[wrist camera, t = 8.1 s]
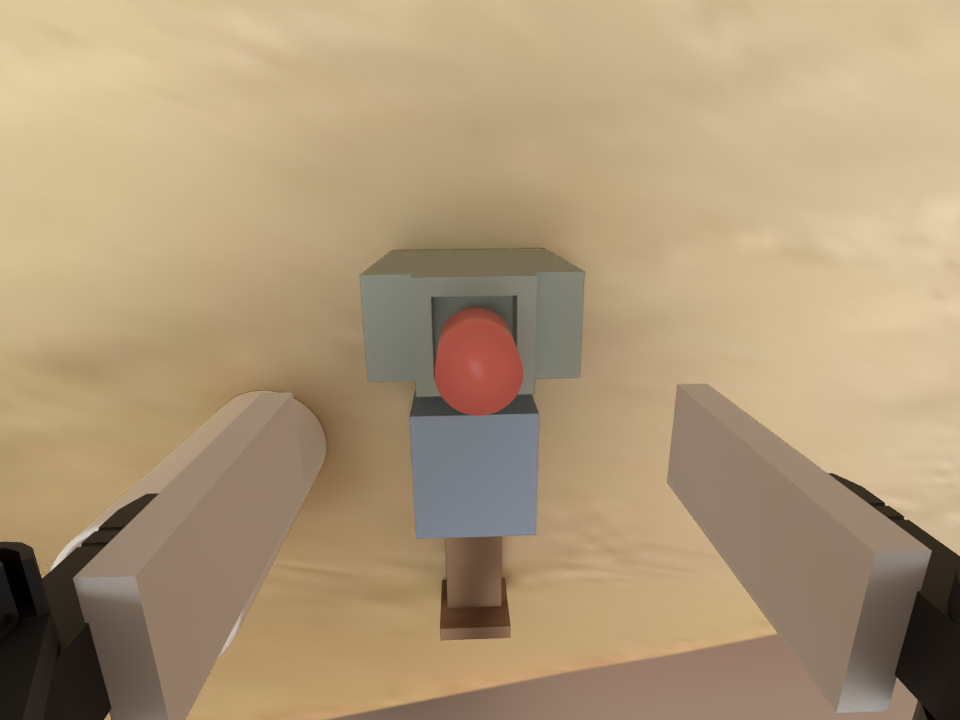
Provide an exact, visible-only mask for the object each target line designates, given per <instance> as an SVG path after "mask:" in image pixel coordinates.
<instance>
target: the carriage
mask: <svg viewBox="0 0 960 720" xmlns="http://www.w3.org/2000/svg"><path fill="white" fill-rule="evenodd" d="M538 430H539V413H538V410H537V407H536V405H535V402H534V399H533V397H532V394H521V395H517V396H516V397H515V398H514V400H513V401H512V402H511V403H510V404H509V405H507V406H506V407H505V408H503V409H502V410H500V411H498V412H495V413H492V414H489V415H482V416H475V415H468V414H465V413H462V412H459V411H457V410H456V409H454V408H452V407H451V406H450V405H448V404H447V403H446V401H445V400H444V399H443V398H442V397H441V396H434V397H416V391H415V395H414V399H413V404H412V408H411V413H410V434H411V453H412V472H413V491H414V511H415V530H416V539H429V538H460V537H491V536H522V535H536V514H537V472H538Z"/></svg>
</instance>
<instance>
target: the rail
mask: <svg viewBox="0 0 960 720" xmlns="http://www.w3.org/2000/svg"><path fill="white" fill-rule="evenodd" d="M445 541H446V571H447V581H442V597H441V620H440V638H441V640H464V639H489V638H510V619H509V610H508V602H507V594H506V586H505V579H501V536H491V537H460V538H445Z"/></svg>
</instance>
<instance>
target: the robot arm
mask: <svg viewBox="0 0 960 720" xmlns="http://www.w3.org/2000/svg"><path fill="white" fill-rule="evenodd" d="M667 483H668V485H669V486H670V487H671V489H672V490H673V491H674V493H675V494H676V495H677V497H678V498H679V500H680V501H681V502H682V504H683V505H684V506H685V508H686V509H687V510H688V512H689V513H690V515H691V516H692V517H693V519H694V520H695V521H696V523H697V524H698V525H699V527H700V528H701V530H702V531H703V532H704V534H705V535H706V536H707V538H708V539H709V540H710V542H711V543H712V544H713V546H714V547H715V549H716V550H717V551H718V553H719V554H720V555H721V557H722V558H723V559H724V561H725V562H726V564H727V565H728V566H729V568H730V569H731V570H732V572H733V573H734V574H735V576H736V577H737V578H738V580H739V581H740V583H741V584H742V585H743V587H744V588H745V589H746V591H747V592H748V593H749V595H750V596H751V598H752V599H753V600H754V602H755V603H756V604H757V606H758V607H759V608H760V610H761V611H762V613H763V614H764V615H765V617H766V618H767V619H768V621H769V622H770V623H771V625H772V626H773V627H774V629H775V630H776V632H777V633H778V634H779V636H780V637H781V638H782V640H783V641H784V642H785V644H786V645H787V647H788V648H789V649H790V651H791V652H792V653H793V655H794V656H795V657H796V659H797V660H798V661H799V663H800V664H801V666H802V667H803V668H804V670H805V671H806V672H807V674H808V675H809V676H810V678H811V679H812V681H813V682H814V683H815V685H816V686H817V687H818V689H819V690H820V691H821V693H822V694H823V695H824V697H825V698H826V699H827V701H828V702H829V704H830V705H831V706H832V708H833V709H834V710H835V712H836V713H848V712H873V711H887V710H888V706H889V702H890V699H891V696H892V692H893V688H894V685H895V681H896V678H898V679H899V680H900V681H901V682H902V683H903V684H904V685H905V686H906V688H907V689H908V690H909V691H910V692H911V693H912V694H913V695H914V696H915V697H916V698H917V700H918V703H917V706H916V709H915V712H914V716H913V719H912V720H960V556H959V555H957V554H956V553H954V552H953V551H952V550H950V549H949V548H947V547H946V546H945V545H943V544H942V543H940V542H939V541H938V540H936V539H935V538H933V537H932V536H931V535H929V534H928V533H926V532H925V531H924V530H922V529H921V528H919V527H918V526H917V525H915V524H914V523H912V522H911V521H910V520H904V516H903V515H901V514H900V513H898V512H897V511H896V510H894V509H893V508H891V507H890V506H885V503H884V502H883V501H881V500H880V499H879V498H877V497H876V496H874V495H873V494H872V493H870V492H869V491H867V490H866V489H865V488H863V487H862V486H859V485H857V484H855V483H853V482H851V481H848V480H846V479H844V478H842V477H840V476H837V475H835V474H833V473H827V472H825V471H824V470H822V469H821V468H820V467H818V466H817V465H816V464H814V463H813V462H812V461H810V460H809V459H808V458H806V457H805V456H804V455H802V454H801V453H800V452H798V451H797V450H796V449H794V448H793V447H792V446H790V445H789V444H787V443H786V442H785V441H783V440H782V439H781V438H779V437H778V436H777V435H775V434H774V433H773V432H771V431H770V430H769V429H767V428H766V427H765V426H763V425H762V424H761V423H759V422H758V421H757V420H755V419H754V418H753V417H751V416H750V415H748V414H747V413H746V412H744V411H743V410H742V409H740V408H739V407H738V406H736V405H735V404H734V403H732V402H731V401H730V400H728V399H727V398H726V397H724V396H723V395H722V394H720V393H719V392H718V391H716V390H715V389H713V388H712V387H711V386H709V385H708V384H678V385H677V391H676V401H675V410H674V420H673V430H672V439H671V449H670V458H669V468H668V477H667ZM304 493H305V491H304V482H303V474H302V465H301V457H300V448H299V440H298V431H297V423H296V414H295V405H294V397H293V392H292V393H261V394H260V395H259V396H258V397H257V398H256V399H255V400H254V401H253V402H252V403H251V404H250V405H249V406H248V407H247V408H246V409H245V410H244V411H243V412H242V413H241V414H240V415H239V416H237V417H236V418H235V419H234V420H233V421H232V422H231V423H230V424H229V425H228V426H227V427H226V428H225V429H224V430H223V431H222V432H221V433H220V434H219V435H218V436H217V437H216V438H215V439H214V440H213V441H212V442H211V443H210V444H209V445H208V446H207V447H206V448H205V449H204V450H203V451H202V452H201V453H200V454H199V455H198V456H197V457H196V458H195V459H194V460H193V461H192V462H191V463H190V464H189V465H188V466H187V467H186V468H185V469H184V470H183V471H182V472H180V473H179V474H178V475H177V476H176V477H175V478H174V479H173V480H172V481H171V482H170V483H169V484H168V485H167V486H166V487H165V488H164V489H163V490H162V491H161V492H160V493H154V494H145V495H143V496H142V497H140V498H138V499H136V500H134V501H133V502H131V503H129V504H127V505H125V506H124V507H122V508H120V509H118V510H117V511H116V512H115V513H114V514H113V515H112V516H111V517H110V518H108V519H107V520H106V521H105V522H104V523H103V524H102V525H101V526H100V527H99V529H98V531H94V532H93V533H92V534H91V535H90V536H89V537H88V538H87V539H85V540H84V541H83V542H82V545H81V547H77V548H76V549H74V550H73V551H72V552H71V553H70V554H69V555H68V556H67V557H66V558H65V559H64V560H62V561H61V562H60V563H59V564H58V565H57V566H56V567H55V568H54V569H53V570H51V571H50V572H49V573H48V574H47V575H46V576H45V577H44V578H43V579H42V578H41V575H40V571H39V568H38V564H37V561H36V558H35V554H34V551H33V548H32V547H30V546H28V545H26V544H24V543H20V542H0V720H104V719H105V717H106V716H107V714H108V713H109V712H110V716H111V720H185V719H186V717H187V715H188V713H189V711H190V710H191V708H192V706H193V704H194V702H195V700H196V698H197V696H198V694H199V692H200V690H201V689H202V687H203V685H204V683H205V681H206V679H207V677H208V675H209V673H210V671H211V670H212V668H213V666H214V664H215V662H216V660H217V658H218V656H219V654H220V652H221V651H222V649H223V647H224V645H225V643H226V641H227V639H228V637H229V635H230V633H231V631H232V630H233V628H234V626H235V624H236V622H237V620H238V618H239V616H240V614H241V612H242V611H243V609H244V607H245V605H246V603H247V601H248V599H249V597H250V595H251V593H252V592H253V590H254V588H255V586H256V584H257V582H258V580H259V578H260V576H261V574H262V573H263V571H264V569H265V567H266V565H267V563H268V561H269V559H270V557H271V555H272V553H273V552H274V550H275V548H276V546H277V544H278V542H279V540H280V538H281V536H282V534H283V533H284V531H285V529H286V527H287V525H288V523H289V521H290V519H291V517H292V515H293V514H294V512H295V510H296V508H297V506H298V504H299V502H300V500H301V498H302V496H303V494H304Z"/></svg>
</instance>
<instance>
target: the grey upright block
mask: <svg viewBox="0 0 960 720" xmlns="http://www.w3.org/2000/svg"><path fill="white" fill-rule="evenodd" d="M584 276H585V272H584V271H582V270H581V269H579V268H577V267H575V266H574V265H572V264H570V263H568V262H567V261H565V260H563V259H562V258H560V257H558V256H556V255H555V254H553V253H551V252H549V251H548V250H546V249H544V248H522V249H449V250H392V251H390V252H389V253H388V254H386V255H385V256H384V257H383V258H381V259H380V260H379V261H377V262H376V263H375V264H373V265H372V266H371V267H370V268H368V269H367V270H366V271H364V272H363V273H362V274H360V288H361V302H362V315H363V328H364V342H365V355H366V368H367V382H410V381H415V382H416V397H434V396H441V395H440V393H439V391H438V389H437V386H436V382H435V364H436V357H437V350H438V343H439V336H440V333H441V330H442V328H443V326H444V324H445V323H446V321H447V320H448V319H449V318H450V317H451V316H452V315H454V314H455V313H457V312H459V311H461V310H464V309H467V308H484V309H488V310H490V311H492V312H494V313H496V314H497V315H499V316H500V317H501V318H502V319H503V320H504V321H505V323H506V324H507V326H508V328H509V330H510V332H511V335H512V337H513V340H514V342H515V345H516V348H517V350H518V353H519V355H520V358H521V361H522V365H523V381H522V385H521V388H520V390H519V392H518V394H517V395H521V394H535V379H546V378H580V362H581V340H582V321H583V297H584Z"/></svg>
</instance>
